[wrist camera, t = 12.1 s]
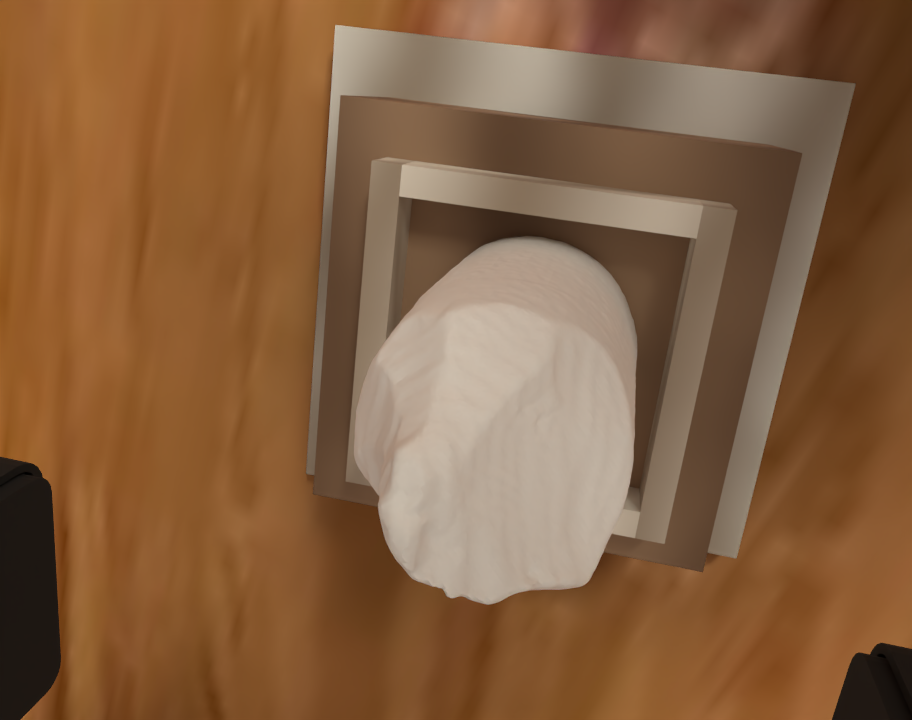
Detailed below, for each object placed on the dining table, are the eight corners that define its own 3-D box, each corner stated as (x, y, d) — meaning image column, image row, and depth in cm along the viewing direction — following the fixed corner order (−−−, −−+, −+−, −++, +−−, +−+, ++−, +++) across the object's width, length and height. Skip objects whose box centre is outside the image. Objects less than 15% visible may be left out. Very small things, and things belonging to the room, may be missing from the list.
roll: (728, 639, 12) (410, 777, 13) (677, 376, 23) (508, 469, 25) (489, 282, 11) (184, 478, 13) (558, 190, 22) (392, 301, 24)
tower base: (845, 84, 26) (932, 75, 18) (732, 541, 31) (765, 676, 23) (347, 28, 28) (249, 0, 21) (317, 461, 33) (230, 560, 26)
